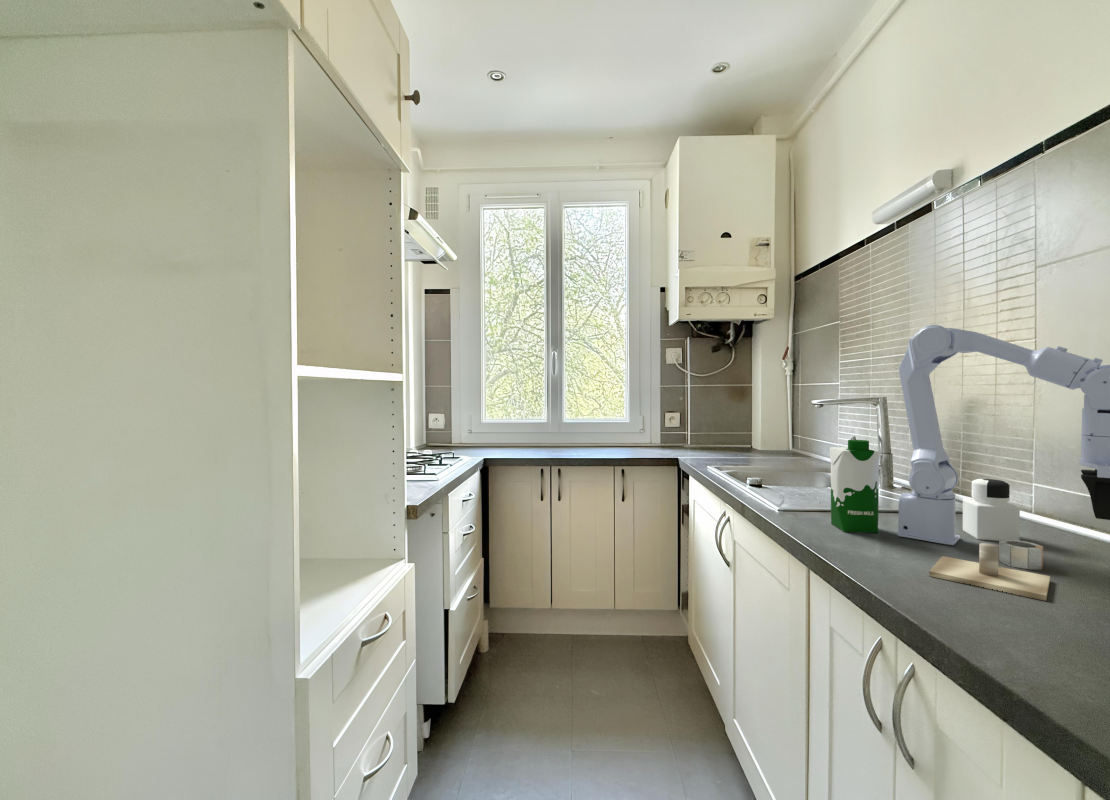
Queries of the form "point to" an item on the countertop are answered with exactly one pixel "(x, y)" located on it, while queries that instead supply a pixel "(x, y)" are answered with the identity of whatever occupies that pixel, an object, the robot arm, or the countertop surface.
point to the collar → (1021, 554)
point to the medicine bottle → (991, 512)
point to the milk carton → (855, 487)
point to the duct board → (989, 582)
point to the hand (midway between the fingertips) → (1103, 515)
